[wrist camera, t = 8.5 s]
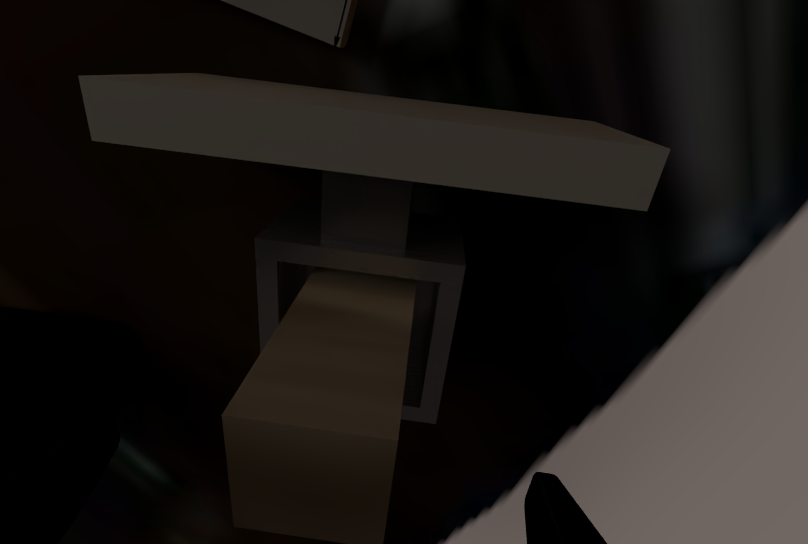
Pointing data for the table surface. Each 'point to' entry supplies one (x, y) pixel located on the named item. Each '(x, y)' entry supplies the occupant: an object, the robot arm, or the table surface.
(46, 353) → the robot arm
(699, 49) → the table surface
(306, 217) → the square open holder
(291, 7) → the baseboard molding
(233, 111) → the board
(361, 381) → the rail post
